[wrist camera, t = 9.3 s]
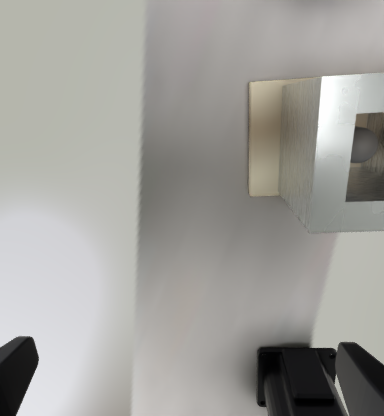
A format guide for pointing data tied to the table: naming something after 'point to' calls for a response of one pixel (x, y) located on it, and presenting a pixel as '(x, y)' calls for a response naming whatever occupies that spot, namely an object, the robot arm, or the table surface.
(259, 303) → the table surface
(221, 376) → the table surface
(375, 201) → the hollow square tube
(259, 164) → the shaft plate
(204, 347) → the table surface
